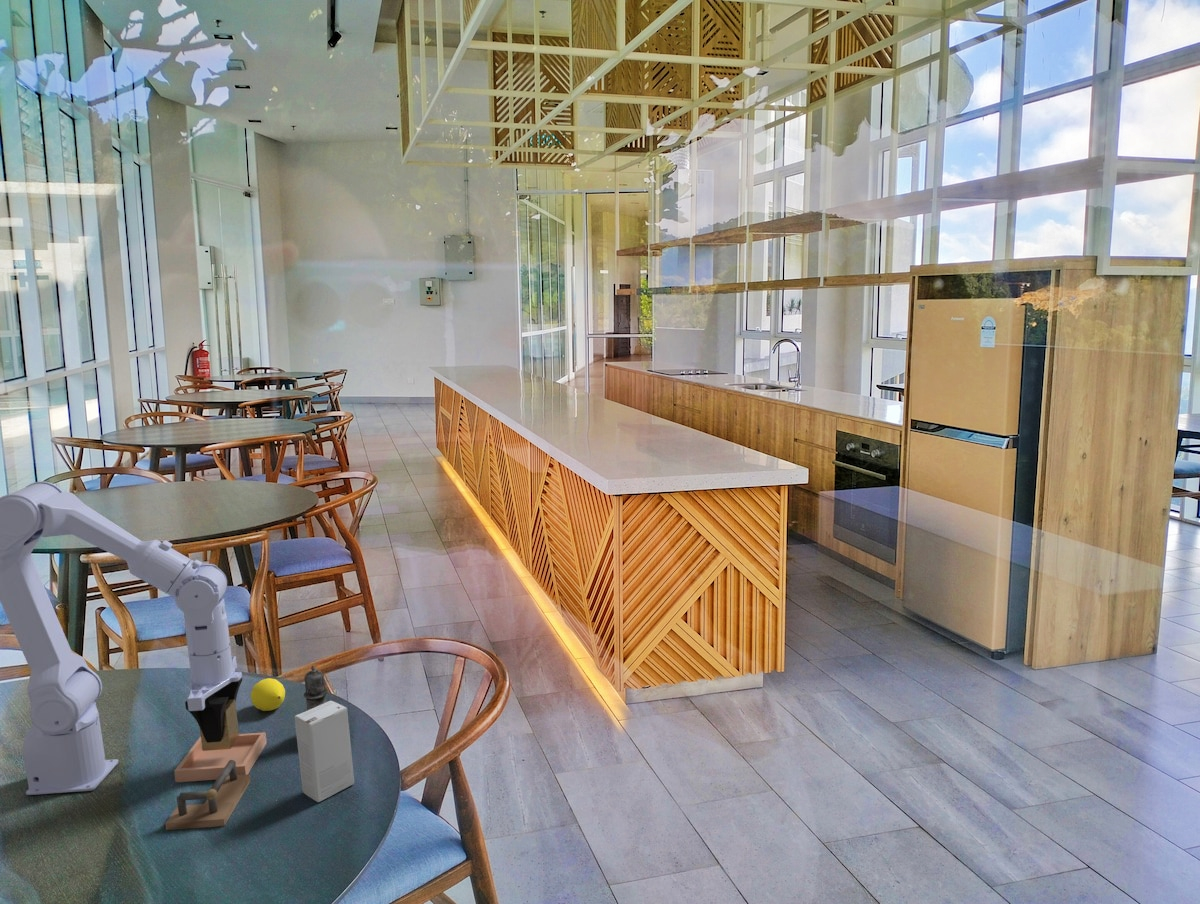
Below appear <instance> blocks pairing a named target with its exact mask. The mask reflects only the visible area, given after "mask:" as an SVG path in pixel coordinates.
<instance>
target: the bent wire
mask: <svg viewBox="0 0 1200 904" xmlns="http://www.w3.org/2000/svg"><path fill="white" fill-rule="evenodd" d="M228 775H229V776H228ZM251 778H252V777H251V774H249V773H248V774H247V775H237V770H236V762H235V761H234V760H230V761H229V762H228V763H227V765H226V766H225V768H224V769H223V771H222V772H221V774H220V775H219V777H218V778H217V779H216V780H215V782H214V783H213V785H212V786H211V788H210V789H208V790H200V791H186V792H180V793H179V795H177V797H176V802H177V806H176V807H175V809H174V810H173V811H172V813H171V814H170V816H169V818H168V819H167V820H166V821H165V823H164V824H165V830H166V831H174V830H187V829H188V830H189V829H199V828H200V829H201V828H202V829H203V828H214V827H225V825H226V824H227V823H228V820H229V819H230V817H231V815H232V814H233V812H234V810H235V809H236V807H237V805H238V803H239V802H240V800H241V798H242V797H243V795H244V793H245V791H246V790H247V788H248V786H249V784H250V783H251V781H252V779H251ZM195 800H205V801H204V803H199V804H187V801H195Z"/></svg>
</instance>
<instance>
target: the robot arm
mask: <svg viewBox="0 0 1200 904" xmlns="http://www.w3.org/2000/svg"><path fill="white" fill-rule="evenodd" d="M70 535H71V536H75V537H77V538H79V539H80V540H83V541H85V542H87V543H88V544H90V545H93V546H95V547H96V548H99V549H101V550H103V551H105V552H106V553H109V554H110V555H113V556H116V557H117V558H119V559H121V560H123V561H125V562H126V563H127V567H128V571H129V573H130V574H131V575H132V576H135V577H136V578H137V579H140V580H141V581H143V582H145V583H146V584H148V585H150V586H152V587H153V588H156V589H158V590H159V591H161V592H163V593H164V594H167V595H168V596H170V597H173V598H174V602H175V605H176V606H177V608H178V609H179V610H180V611H181V612H182V613H183V618H184V631H185V637H186V638H185V639H186V644H187V645H186V646H187V653H188V662H189V670H190V677H191V678H190V679H189V680H190V681H189V682H190V683H189V695H188V697H187V698H186V701H184V702H185V703H184V704H185V705H184V706H185V709H186V711H188V712H189V714H190V715H191V716H192V717H193V718H194V719H195V721H196V723H197V725H198V727H199V730H200V729H201V731H202V733H203V736H204V738H205V740H206V742H207V743H209V742H220V741H221V740H222V737H223V717H224V710H225V706H226V703H227V700H230V699H235V704H237V703H236V701H237V697H238V694H239V693H238V692H239V690H240V687H241V685H242V682H243V675H242V674H243V672H241V671H236V669H238V663H237V656H236V655H234V656H233V655H232V650H231V649H232V648H231V647H232V646H231V641H230V640H231V639H230V638H231V637H230V631H229V622H228V615H227V612H226V603H225V598H223V596H224V595H225V592H226V590H227V589H228V578H227V576H226V574H225V572H223V571H222V569H220V568H219V567H218V566H217V565H216V564H214V563H213V564H212V563H203V562H202V561H200V560H198V559H195V560H193V559H191V558H189V557H188V556H186V555H184V554H182V553H181V552H179V551H177V550H175V549H174V548H172V547H173V543H171V542H170V541H168V540H165V539H164V540H163V541H160V540H158V539H151V540H141V539H139V538H138V537H136V536H135V535H133V534H131V533H130V532H128V530H125V529H124V528H122V527H121V526H119V525H118V524H116V523H114V522H113V521H111V520H110V519H108V518H107V517H105V516H104V515H102V514H101V513H99V512H97V511H96V510H94V509H93V508H91V507H90V506H89V505H86V504H85V503H83V501H82V500H81V499H80V498H78V496H77V495H75V494H74V493H72V492H70V491H67V490H63V489H61V488H60V487H59V486H58V485H57V484H54V483H53V482H49V481H42V480H41V481H35V482H33V483H30V484H28V485H26V486H25V487H23V488H21V489H19V490H17V491H14V492H12V493H10V494H5V495H3V496H1V497H0V605H1V607H2V608H3V610H4V612H5V615H6V616H7V620H8V622H9V624H10V626H11V628H12V631H13V633H14V636H15V638H16V640H17V643H18V645H19V647H20V649H21V651H22V654H23V656H24V658H25V661H26V663H27V665H28V668H29V669H30V676H29V680H28V685H27V688H26V689H27V690H26V692H27V693H26V694H27V695H28V698H29V701H30V709H29V717H30V721H31V723H32V724H33V725H32V726H30V728H29V729H28V730H27V732H26V733H25V736H24V739H23V745H22V756H23V761H24V767H25V774H26V780H27V785H28V789H27V790H26V791H25V795H27V796H32V795H34V796H35V795H48V794H62V793H75V792H89V791H94V790H95V789H96V788H97V787H98V786H99V785H100V784H101V783H102V782H103V780H104V779H106V778H107V776H108V775H109V774H110V773H111V771H113V769H114V768H115V767H116V766H117V765H118V764H119V759H117V758H116V759H114V758H113V759H106V756H105V748H104V742H103V735H102V733H103V732H102V727H101V719H100V713H99V710H98V709H97V708H98V707H97V703H96V702H97V701H98V699H99V698H100V696H101V694H102V690H103V683H102V679H101V678H100V676H99V675H98V674H97V673H96V672H95V671H93V670H92V669H91V668H90V667H89V665H88V663H87V662H86V660H85V658H84V657H83V656H81V655H80V654H77V653H75V652H73V650H72V649H71V646H70V644H69V642H68V639H67V637H66V635H65V632H64V630H63V627H62V625H61V623H60V621H59V618H58V616H57V614H56V611H55V609H54V607H53V605H52V602H51V600H50V596H49V595H48V592H47V590H46V588H45V585H44V584H43V581H42V578H41V575H40V573H39V571H38V569H37V566H36V565H35V562H34V560H33V557H32V552H33V551H34V549H35V548H36V546H37V544H38V543H39V541H40V540H41V538H49V537H58V536H70Z"/></svg>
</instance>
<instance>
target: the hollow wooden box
mask: <svg viewBox="0 0 1200 904" xmlns="http://www.w3.org/2000/svg"><path fill="white" fill-rule="evenodd" d="M236 704H237V703H235V699H230V700H227V703H226V706H225V710H224V717H223V737H222V740H221V741H220V742H209V743H207V742H206V740H205V738H204V736H203V733H202V731H201V729H200V728H199V731H200V737H201V742H202V750H203V751H208V750H222V749H231V747H232V746H233V744H234V743H235V741H236V740H237V738H238V737H239V734H240V731H239V722H238V715H237V714H238V713H237V706H236Z"/></svg>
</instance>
